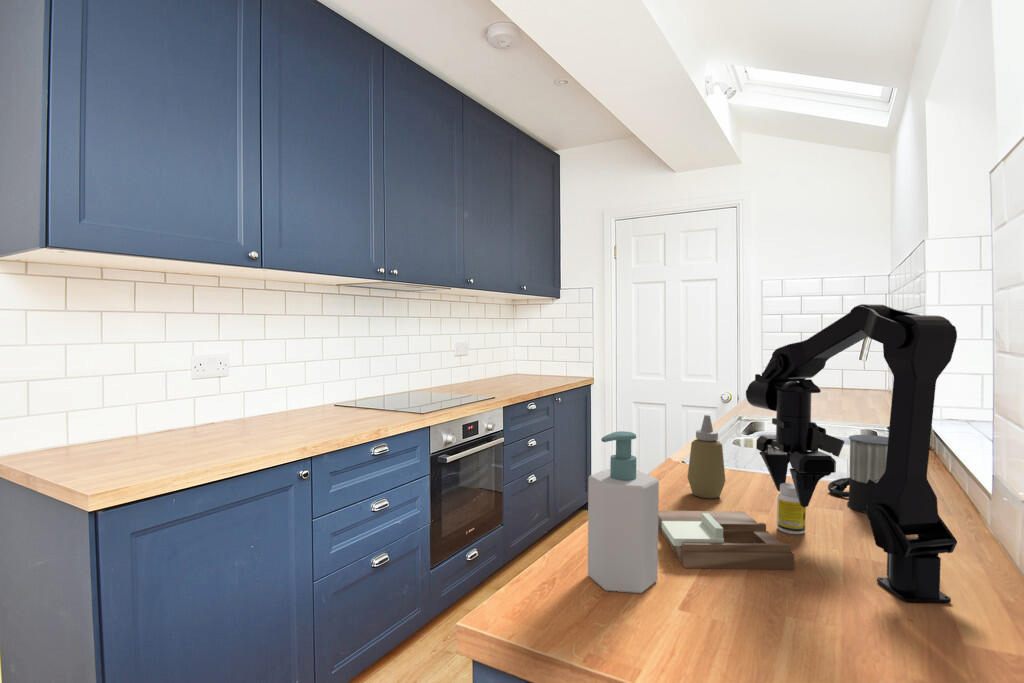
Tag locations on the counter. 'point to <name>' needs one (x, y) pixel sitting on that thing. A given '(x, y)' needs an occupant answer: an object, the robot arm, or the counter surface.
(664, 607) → the counter surface
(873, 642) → the counter surface
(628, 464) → the soap bottle
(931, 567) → the robot arm
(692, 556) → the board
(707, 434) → the squeeze bottle
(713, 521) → the cover
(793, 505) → the supplement bottle
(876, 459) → the milk frother
